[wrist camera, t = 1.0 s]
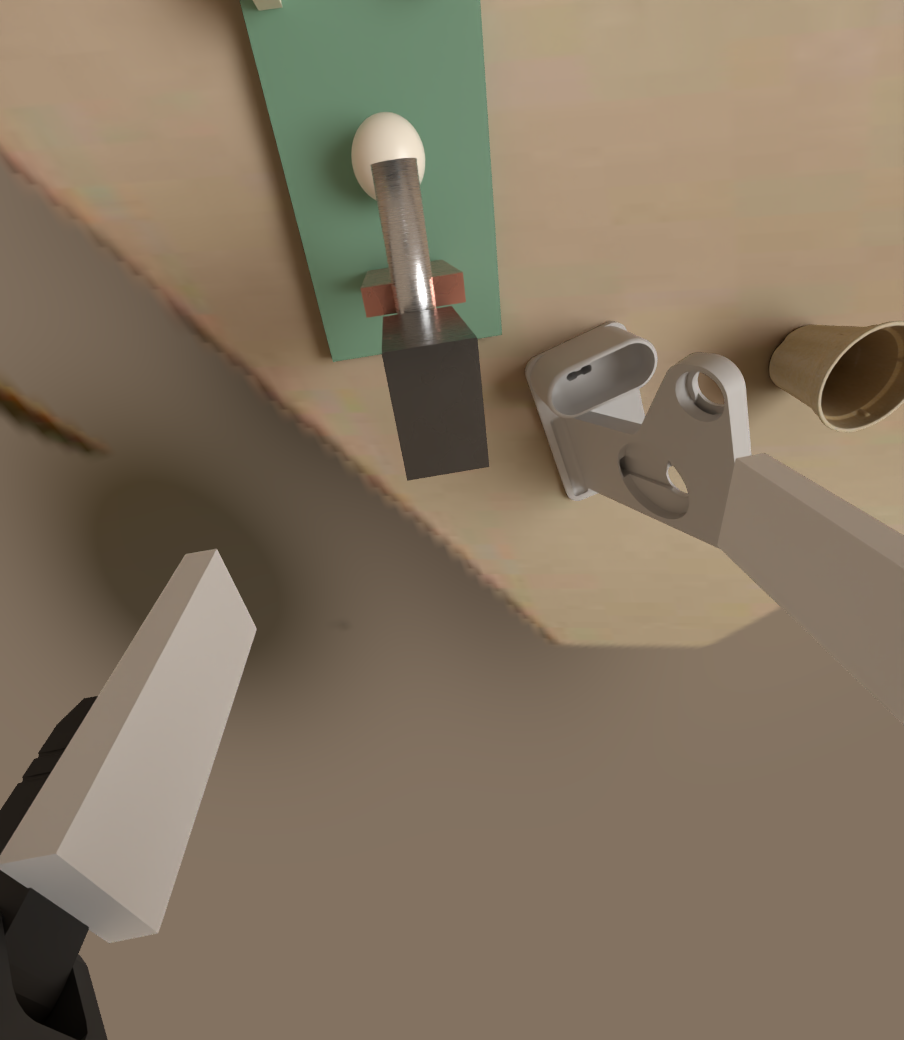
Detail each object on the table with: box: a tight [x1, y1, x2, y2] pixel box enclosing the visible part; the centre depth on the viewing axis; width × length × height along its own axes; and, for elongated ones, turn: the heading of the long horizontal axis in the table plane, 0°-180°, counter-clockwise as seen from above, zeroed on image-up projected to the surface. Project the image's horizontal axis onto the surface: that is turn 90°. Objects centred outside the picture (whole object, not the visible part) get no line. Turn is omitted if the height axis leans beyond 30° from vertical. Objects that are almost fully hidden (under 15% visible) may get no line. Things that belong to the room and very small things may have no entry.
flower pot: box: [769, 321, 904, 432], centre depth 44 cm, size 9×9×9 cm
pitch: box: [240, 0, 502, 362], centre depth 32 cm, size 31×15×6 cm, turn 7°
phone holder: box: [525, 321, 751, 549], centre depth 41 cm, size 17×10×18 cm, turn 24°
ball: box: [351, 112, 425, 201], centre depth 32 cm, size 5×5×5 cm
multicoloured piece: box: [361, 158, 489, 480], centre depth 29 cm, size 13×6×22 cm, turn 7°
